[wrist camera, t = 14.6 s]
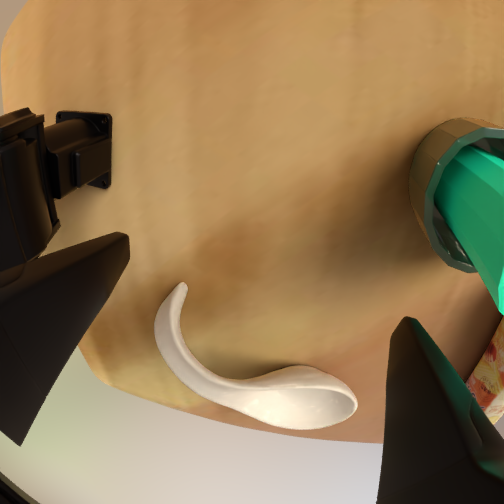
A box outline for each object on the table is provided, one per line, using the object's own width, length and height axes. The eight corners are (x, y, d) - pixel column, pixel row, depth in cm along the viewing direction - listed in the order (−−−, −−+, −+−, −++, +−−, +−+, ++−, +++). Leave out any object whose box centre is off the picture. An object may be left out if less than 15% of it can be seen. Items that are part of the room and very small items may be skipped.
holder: (388, 220, 20) (399, 249, 17) (433, 94, 15) (457, 99, 11) (484, 257, 19) (502, 286, 16) (530, 152, 14) (560, 170, 11)
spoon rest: (377, 383, 30) (378, 439, 24) (304, 415, 36) (297, 462, 30) (200, 255, 25) (163, 312, 19) (149, 318, 32) (118, 366, 26)
